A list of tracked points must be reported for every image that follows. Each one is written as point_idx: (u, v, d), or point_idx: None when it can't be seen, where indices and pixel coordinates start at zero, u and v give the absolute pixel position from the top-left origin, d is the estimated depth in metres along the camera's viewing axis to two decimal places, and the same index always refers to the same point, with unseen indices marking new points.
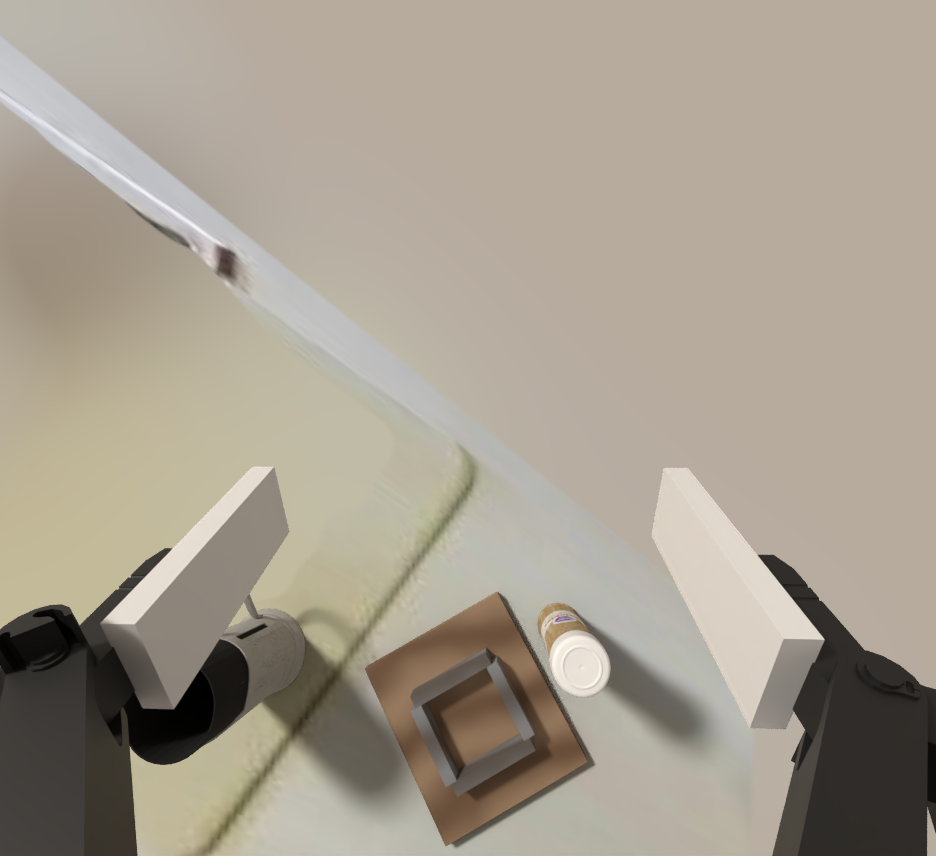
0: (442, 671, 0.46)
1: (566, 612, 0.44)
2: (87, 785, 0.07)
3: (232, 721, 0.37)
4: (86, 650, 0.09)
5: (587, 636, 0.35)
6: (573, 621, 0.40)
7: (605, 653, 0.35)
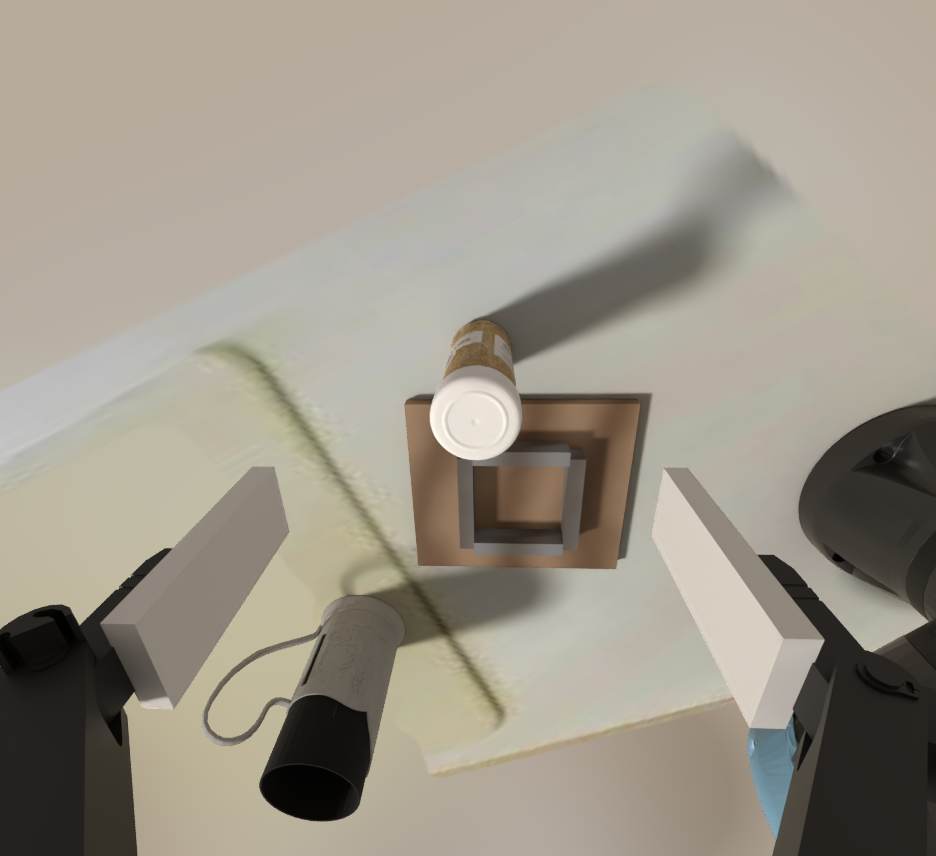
0: None
1: (453, 348, 0.29)
2: (87, 785, 0.07)
3: (367, 728, 0.36)
4: (86, 650, 0.09)
5: (441, 389, 0.21)
6: (450, 361, 0.26)
7: (475, 379, 0.21)
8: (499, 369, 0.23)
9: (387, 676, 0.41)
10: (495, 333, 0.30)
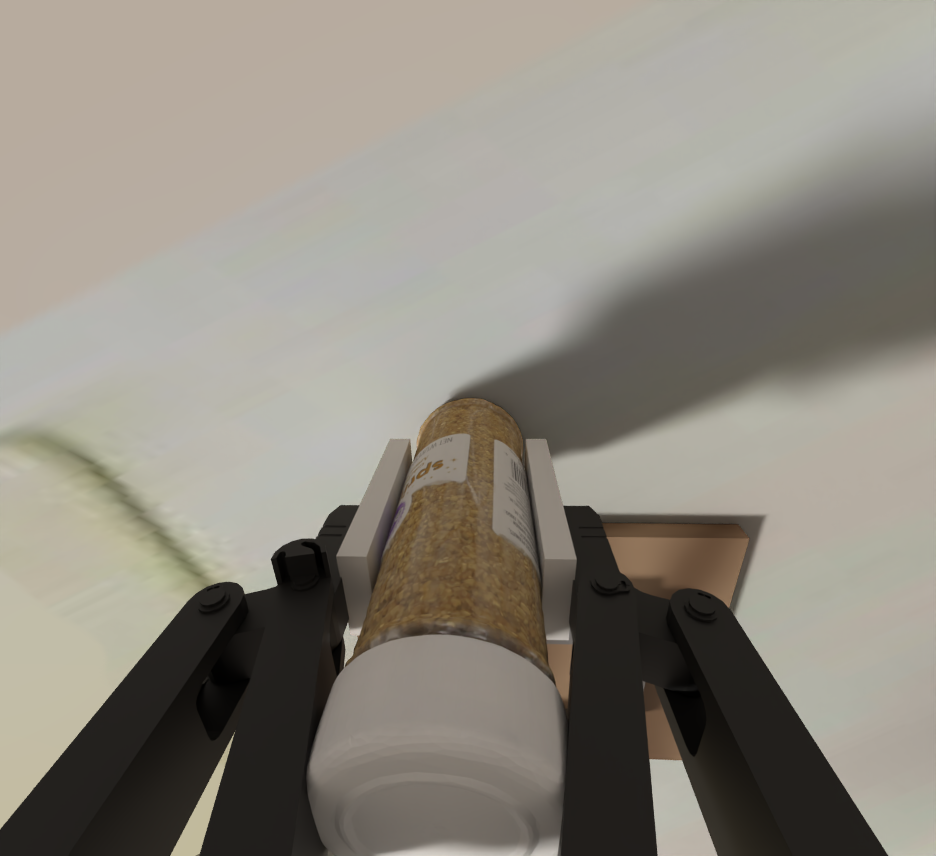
0: None
1: (411, 470, 0.15)
2: (313, 712, 0.08)
3: None
4: (329, 586, 0.10)
5: (327, 746, 0.07)
6: (396, 533, 0.12)
7: (431, 742, 0.06)
8: (507, 610, 0.09)
9: None
10: (495, 434, 0.16)
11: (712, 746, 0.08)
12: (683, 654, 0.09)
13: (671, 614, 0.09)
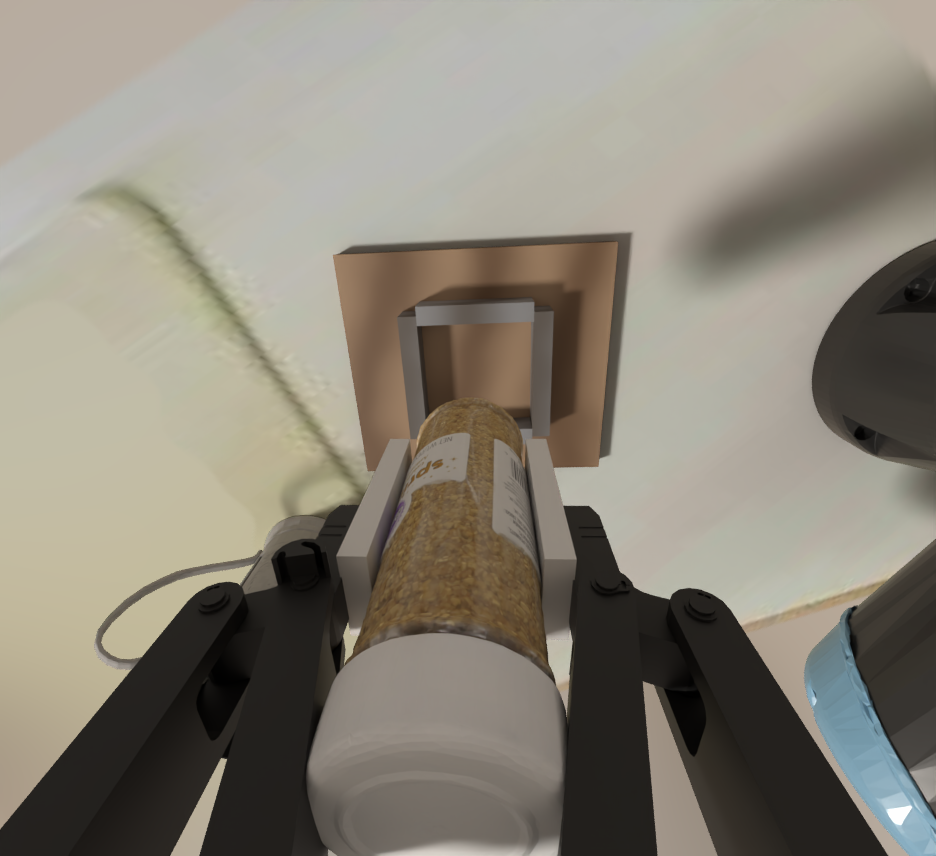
0: None
1: (411, 469, 0.15)
2: (313, 712, 0.08)
3: None
4: (330, 586, 0.10)
5: (326, 745, 0.07)
6: (395, 532, 0.12)
7: (430, 740, 0.06)
8: (506, 609, 0.09)
9: None
10: (495, 433, 0.16)
11: (712, 746, 0.08)
12: (683, 654, 0.09)
13: (671, 614, 0.09)
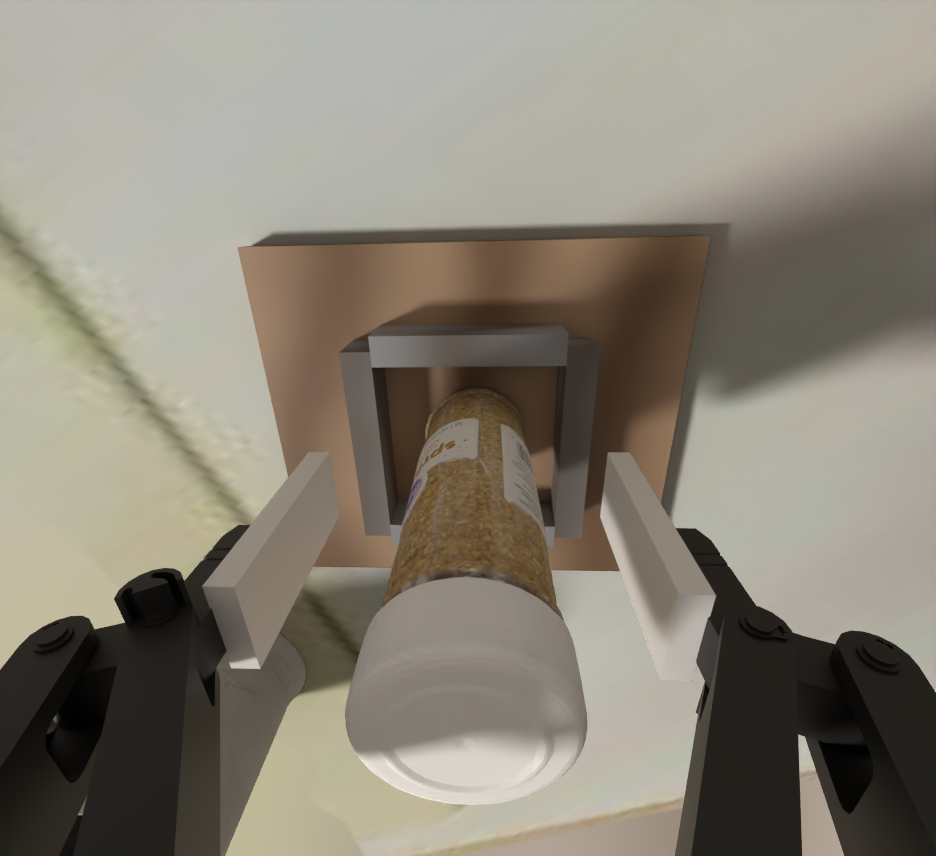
0: None
1: (424, 452, 0.16)
2: (184, 743, 0.07)
3: None
4: (191, 613, 0.10)
5: (371, 667, 0.08)
6: (414, 504, 0.13)
7: (463, 656, 0.07)
8: (521, 561, 0.10)
9: (252, 758, 0.24)
10: (501, 419, 0.17)
11: (877, 806, 0.07)
12: (849, 700, 0.08)
13: (838, 654, 0.08)
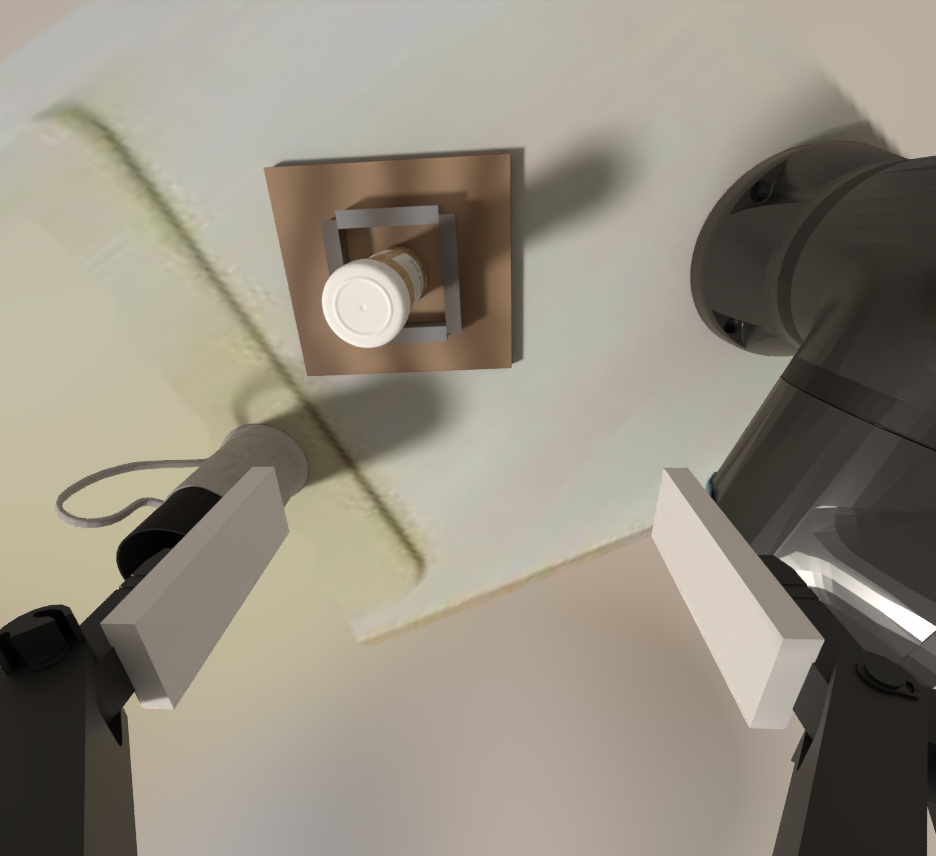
0: None
1: None
2: (87, 785, 0.07)
3: None
4: (86, 650, 0.09)
5: (329, 277, 0.23)
6: None
7: (358, 265, 0.23)
8: (390, 266, 0.25)
9: None
10: (406, 253, 0.32)
11: None
12: None
13: None
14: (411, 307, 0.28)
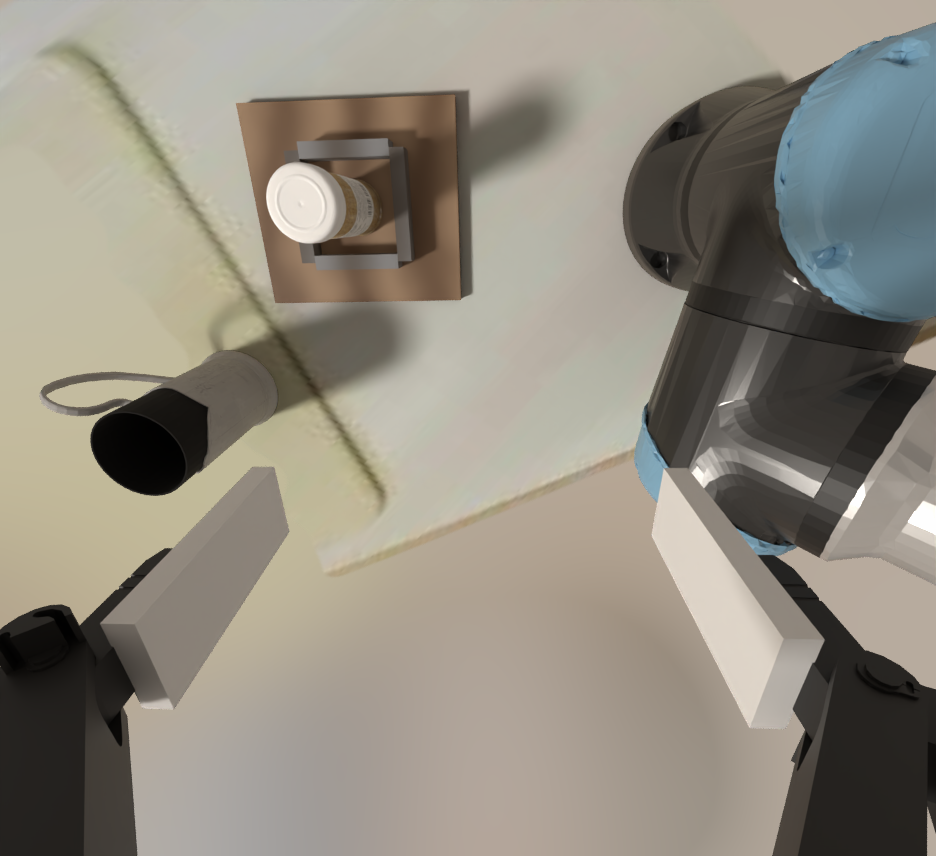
0: None
1: None
2: (87, 785, 0.07)
3: (206, 417, 0.38)
4: (86, 650, 0.09)
5: (272, 176, 0.27)
6: None
7: (295, 164, 0.27)
8: None
9: (244, 405, 0.43)
10: None
11: None
12: None
13: None
14: (353, 219, 0.32)
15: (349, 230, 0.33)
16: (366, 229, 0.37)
